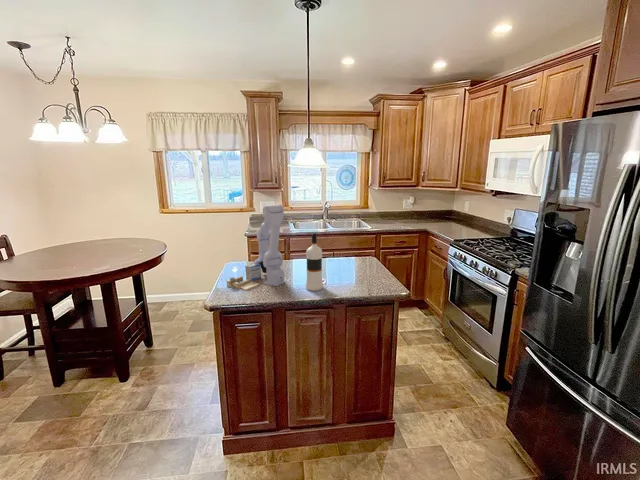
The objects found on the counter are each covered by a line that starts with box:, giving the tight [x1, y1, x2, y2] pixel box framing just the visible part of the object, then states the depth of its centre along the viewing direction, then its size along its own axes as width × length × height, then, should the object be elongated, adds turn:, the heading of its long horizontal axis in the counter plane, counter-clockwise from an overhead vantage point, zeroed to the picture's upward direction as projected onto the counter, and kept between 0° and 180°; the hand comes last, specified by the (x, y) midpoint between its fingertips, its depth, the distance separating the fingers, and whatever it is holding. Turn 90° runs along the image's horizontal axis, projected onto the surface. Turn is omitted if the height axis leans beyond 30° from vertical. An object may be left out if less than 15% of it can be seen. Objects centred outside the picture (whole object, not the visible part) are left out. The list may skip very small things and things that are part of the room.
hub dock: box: [226, 275, 260, 292], centre depth 175 cm, size 14×11×5 cm
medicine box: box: [244, 263, 262, 282], centre depth 185 cm, size 8×4×9 cm, turn 143°
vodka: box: [305, 232, 324, 292], centre depth 168 cm, size 9×9×30 cm
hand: (264, 272), depth 193 cm, fingers closed
